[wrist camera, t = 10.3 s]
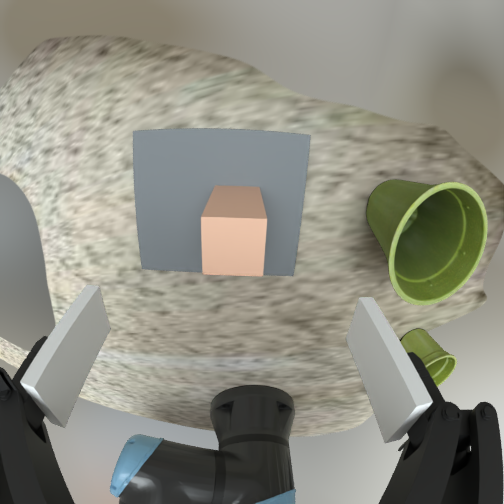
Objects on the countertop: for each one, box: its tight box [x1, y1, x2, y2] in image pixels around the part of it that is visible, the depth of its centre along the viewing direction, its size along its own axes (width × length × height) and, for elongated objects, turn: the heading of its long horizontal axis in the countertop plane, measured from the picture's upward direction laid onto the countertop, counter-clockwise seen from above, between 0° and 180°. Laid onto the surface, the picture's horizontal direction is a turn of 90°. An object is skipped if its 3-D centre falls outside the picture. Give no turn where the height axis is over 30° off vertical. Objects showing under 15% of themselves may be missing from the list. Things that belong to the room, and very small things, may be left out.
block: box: [201, 185, 267, 276], centre depth 24 cm, size 4×4×10 cm
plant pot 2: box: [400, 329, 457, 387], centre depth 36 cm, size 9×9×9 cm
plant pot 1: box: [366, 180, 487, 305], centre depth 25 cm, size 12×12×11 cm
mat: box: [133, 128, 311, 276], centre depth 29 cm, size 16×18×1 cm
